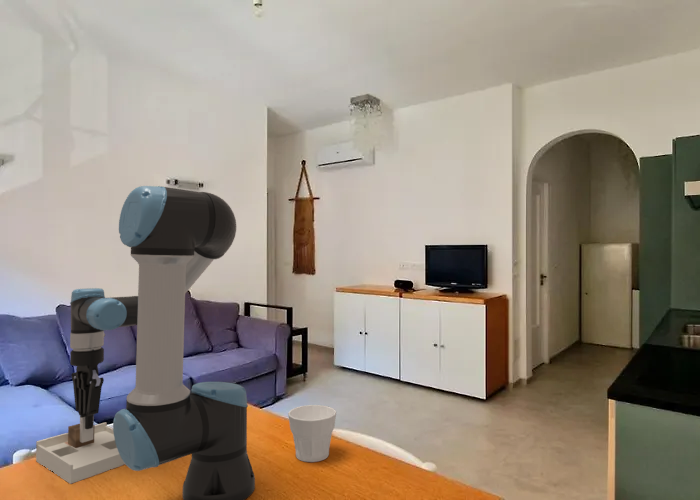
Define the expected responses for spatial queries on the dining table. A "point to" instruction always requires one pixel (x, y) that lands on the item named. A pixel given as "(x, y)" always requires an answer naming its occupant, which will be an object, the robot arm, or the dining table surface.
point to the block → (76, 436)
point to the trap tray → (79, 455)
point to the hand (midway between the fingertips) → (86, 440)
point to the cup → (312, 431)
